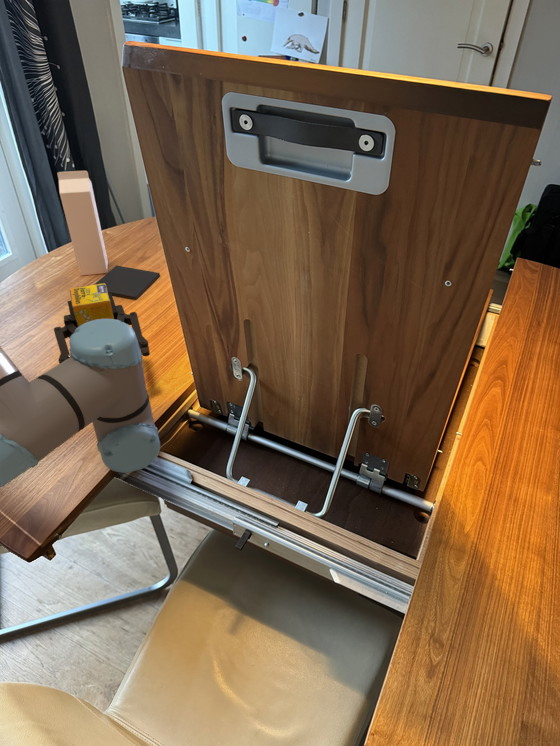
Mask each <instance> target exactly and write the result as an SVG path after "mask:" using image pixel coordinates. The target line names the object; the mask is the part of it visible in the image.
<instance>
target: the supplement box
mask: <svg viewBox="0 0 560 746" xmlns="http://www.w3.org/2000/svg"><path fill="white" fill-rule="evenodd" d="M69 295H70V301H71V302H72V307H73V310H74V314H75V317H76V321H77V325H78V327H79V326H81V325H82V324H84V323H87V322H89V321H93V320H97V319H114V316H113V312H112V307H111V302H110V299H109V296H108V292H107V288H106V284H105V283H103V284H97V285H94V284H91V285H86V286H79V287H73V288H69Z"/></svg>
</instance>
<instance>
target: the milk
mask: <svg viewBox="0 0 560 746" xmlns="http://www.w3.org/2000/svg"><path fill="white" fill-rule="evenodd" d="M56 175H57V179H58V190H59V191H58V192H59V196H60V197H59V198H60V200H61V204H62V208H63V212H64V215H65V216H64V217H65V220H66V224H67V228H68V233H69V236H70V241H71V244H72V248H73V252H74V255H75V260H76V264H77V268H78V271H79V275H80V276H92V275H101V274H102V275H103V274H107V273H108V272H109V271H108V269H109V268H108V267H109V266H108V265H109V260H108V255H107V251H106V246H105V241H104V236H103V232H102V227H101V221H100V217H99V212H98V208H97V203H96V197H95V193H94V188H93V183H92V180H91V179H90V178H89V172H88V171H87V170H74V171H73V170H72V171H58V172H57V174H56Z"/></svg>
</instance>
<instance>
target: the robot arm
mask: <svg viewBox="0 0 560 746" xmlns="http://www.w3.org/2000/svg"><path fill="white" fill-rule="evenodd" d="M108 296H109V299H110V302H111V307H112V312H113V316H114V319H97V320H93V321H89V322H87V323H84V324H82V325H81V326H79V327H78V325H77V321H76V317H75V314H74V310H73V307H72V302H71V300H67V306H68V311H69V314H65V315H64V316H63V324H64V326H55V327H54V328H53V332H54V336H55V339H56V342H57V345H58V349H59V352H60V354H59V356H58V363H59V364H56V365H55V366H54V367H52V368H50V369H48V370H47V371H45V372H44V373H42V374H41V375H39V376H37V377H35V378H34V379H32V380H30V381H29V380H28V379H27V378H26V377H25V376H24V375H23V374H22V372H21V371H20V369H19V367H17V365H16V363H15V362H14V361H13V360H12V359H11V358H10V356H9V355H8V354H7V353H6V351H5V350H4V349H3V347H2V346H1V345H0V488H3V487H4V486H6V485H7V484H9V483H10V482H12V481H14V480H15V479H17V478H18V477H19V476H21V475H22V474H24V473H26V472H27V471H28V470H30V469H31V468H35V467H36V466H38V465H39V462H40V461H41V460H43V459H44V458H46V457H47V456H48V455H50V454H51V453H53V452H54V451H55V450H56V449H57V448H59V447H60V446H61V445H63V444H64V443H66V442H67V441H68V440H69V439H71V438H72V437H74V436H75V435H76V434H78V433H79V432H80V431H82V430H83V429H85V428H87V426H89V425H90V424H92V426H93V429H94V433H95V437H96V442H97V443H96V446H97V449H98V452H99V454H100V457H101V461H102V463H103V464H104V466H106V467H107V469H109V470H111V471H113V472H116V473H121V474H127V473H133V472H134V471H135V472H136V471H138V470H139V471H140V470H143V469H145V468H147V467H148V466H150V465H151V464H152V463H154V461H155V460H156V459H157V457H158V456H159V453H160V451H161V441H160V436H159V435H160V434H159V429H158V427H156V424H155V421H154V417H153V412H152V411H153V410H152V407H151V401H150V396H149V394H148V389H147V384H146V377H145V371H144V364H143V359H144V358H143V357H148V356H150V354H151V352H150V346H149V341H148V339H146V338H145V337H144V336H143V334H142V329H141V325H140V321H139V317H138V313H137V312H136V311H132V312H129V314H127V313H126V312H125V309H124V307H123V305H122V304H117V305H116V303H115V300H114V296H112V294H111V293H110V294H108ZM66 339H69V342H68V343H69V346H68V344H67V341H66Z"/></svg>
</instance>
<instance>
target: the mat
mask: <svg viewBox="0 0 560 746" xmlns="http://www.w3.org/2000/svg"><path fill="white" fill-rule="evenodd" d="M160 276H161V273H160V272H158V271H157V272H156V271H150V270H145V269H140V268H135V267H128V266H122V265H117V264H116V265H115V266H114V267H113V268H112V269H110V270H109V271H108V272H107V273H105V274H104V275H103V276H102V277H101V278H100V279H99V280H97V281H96V282H95V283H94V284H93V285H97V284H103V283H105V284H106V288H107V292H108V294H110V293H111V294H112V297H117V298H123V299H128V300H133V301H137V300H138V299H139V298H140V297H141V296H142V295H143V294H144V293H145V292H147V290H148V289H149V288H150V287H151V286H152V285H153V284H154V283H155V282H156V281H157V280H158V279H159V278H160Z"/></svg>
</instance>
